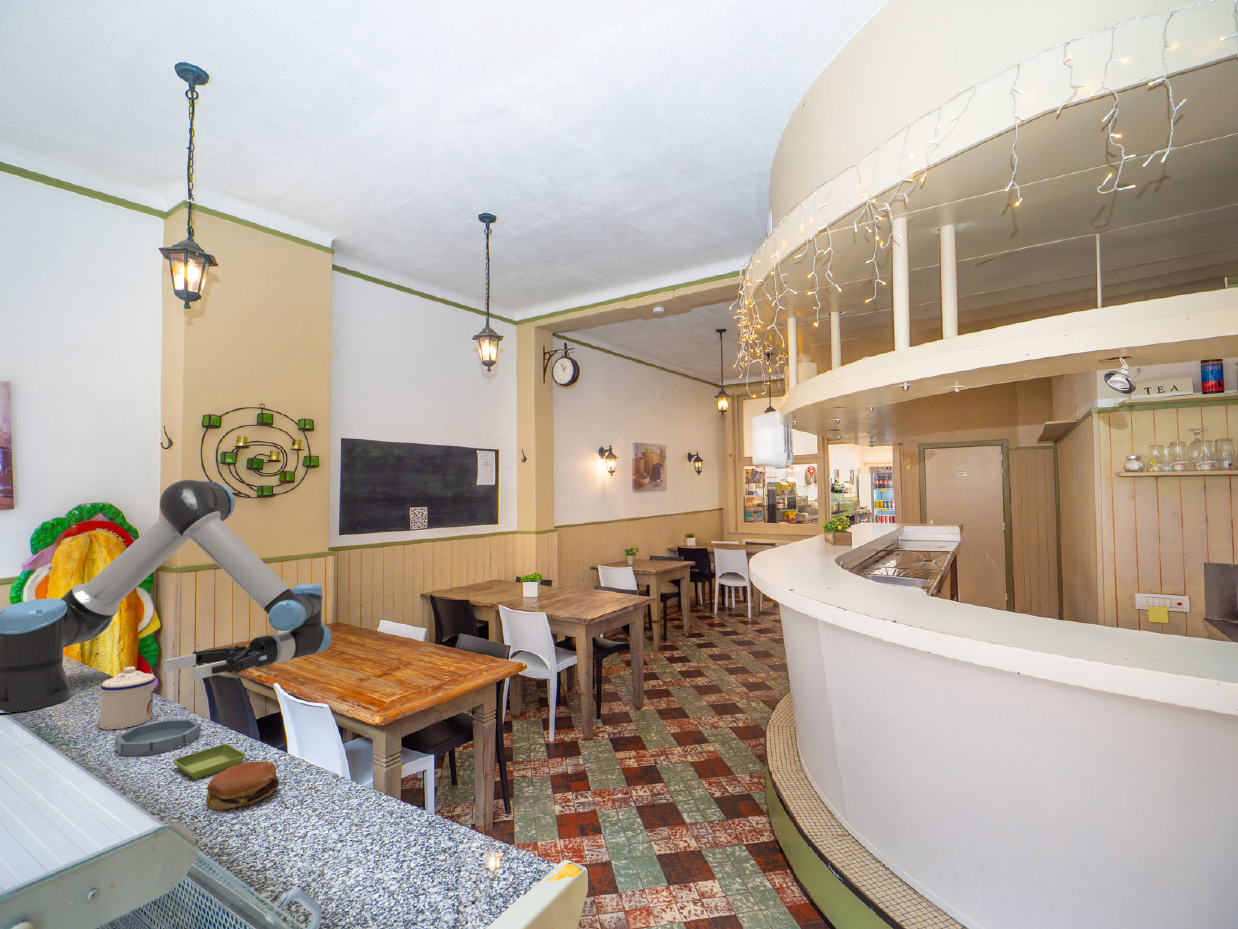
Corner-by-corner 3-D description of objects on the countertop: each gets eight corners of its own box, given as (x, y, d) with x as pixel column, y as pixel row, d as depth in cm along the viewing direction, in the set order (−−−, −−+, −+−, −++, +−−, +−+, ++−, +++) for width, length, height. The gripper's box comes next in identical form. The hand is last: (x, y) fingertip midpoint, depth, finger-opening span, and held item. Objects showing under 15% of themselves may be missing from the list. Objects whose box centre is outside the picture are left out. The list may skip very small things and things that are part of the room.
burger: (191, 806, 91) (193, 775, 92) (247, 780, 100) (248, 752, 101) (237, 818, 88) (239, 786, 88) (290, 790, 97) (292, 761, 97)
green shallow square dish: (247, 766, 106) (247, 754, 106) (190, 785, 99) (191, 772, 99) (225, 754, 111) (226, 743, 111) (170, 772, 104) (171, 759, 104)
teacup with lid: (159, 721, 127) (162, 666, 128) (104, 734, 120) (108, 676, 121) (141, 709, 134) (144, 657, 135) (89, 721, 127) (92, 666, 128)
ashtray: (109, 744, 115) (110, 732, 115) (186, 726, 124) (187, 714, 125) (125, 762, 107) (126, 749, 107) (206, 741, 116) (207, 729, 117)
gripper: (299, 670, 148) (207, 694, 130) (243, 658, 160) (152, 679, 142) (300, 639, 149) (208, 659, 130) (244, 630, 161) (153, 647, 142)
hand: (178, 669), depth 136 cm, fingers open, 13 cm apart
